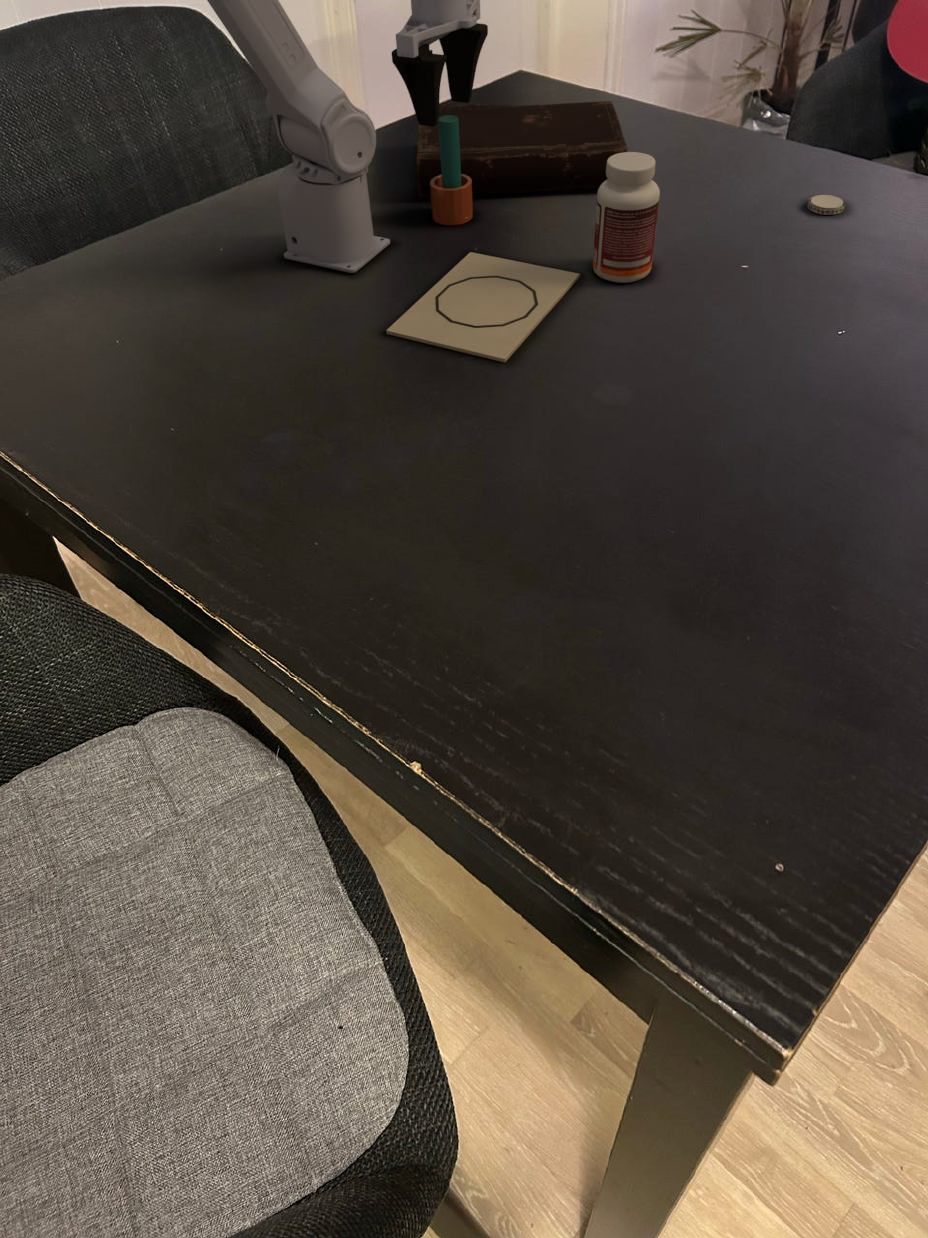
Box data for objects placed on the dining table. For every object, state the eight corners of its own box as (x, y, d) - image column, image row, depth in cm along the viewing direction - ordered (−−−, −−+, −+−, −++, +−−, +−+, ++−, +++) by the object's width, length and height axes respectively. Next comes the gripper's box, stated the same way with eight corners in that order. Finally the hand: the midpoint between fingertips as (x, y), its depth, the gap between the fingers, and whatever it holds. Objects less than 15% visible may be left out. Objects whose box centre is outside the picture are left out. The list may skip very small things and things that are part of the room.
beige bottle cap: (802, 210, 100) (803, 204, 100) (814, 196, 102) (815, 191, 102) (837, 217, 99) (838, 211, 98) (848, 203, 101) (850, 198, 100)
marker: (440, 213, 103) (434, 120, 95) (449, 205, 104) (444, 113, 97) (457, 216, 102) (452, 122, 95) (465, 208, 103) (461, 116, 96)
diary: (625, 192, 106) (629, 148, 102) (419, 202, 106) (415, 158, 103) (607, 135, 118) (610, 93, 114) (423, 144, 119) (420, 103, 115)
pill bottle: (663, 272, 92) (677, 162, 84) (618, 290, 90) (628, 178, 82) (624, 251, 96) (634, 143, 87) (580, 268, 94) (586, 159, 85)
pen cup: (425, 221, 103) (422, 186, 100) (444, 205, 106) (442, 170, 103) (461, 228, 101) (459, 192, 98) (480, 211, 104) (479, 176, 101)
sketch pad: (386, 333, 86) (386, 329, 86) (470, 255, 97) (470, 251, 96) (505, 362, 82) (505, 358, 81) (579, 277, 92) (580, 272, 92)
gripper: (435, -16, 82) (444, 140, 92) (504, -52, 90) (506, 95, 100) (372, -22, 84) (387, 131, 94) (444, -56, 92) (452, 88, 103)
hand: (444, 112), depth 97 cm, fingers open, 7 cm apart
